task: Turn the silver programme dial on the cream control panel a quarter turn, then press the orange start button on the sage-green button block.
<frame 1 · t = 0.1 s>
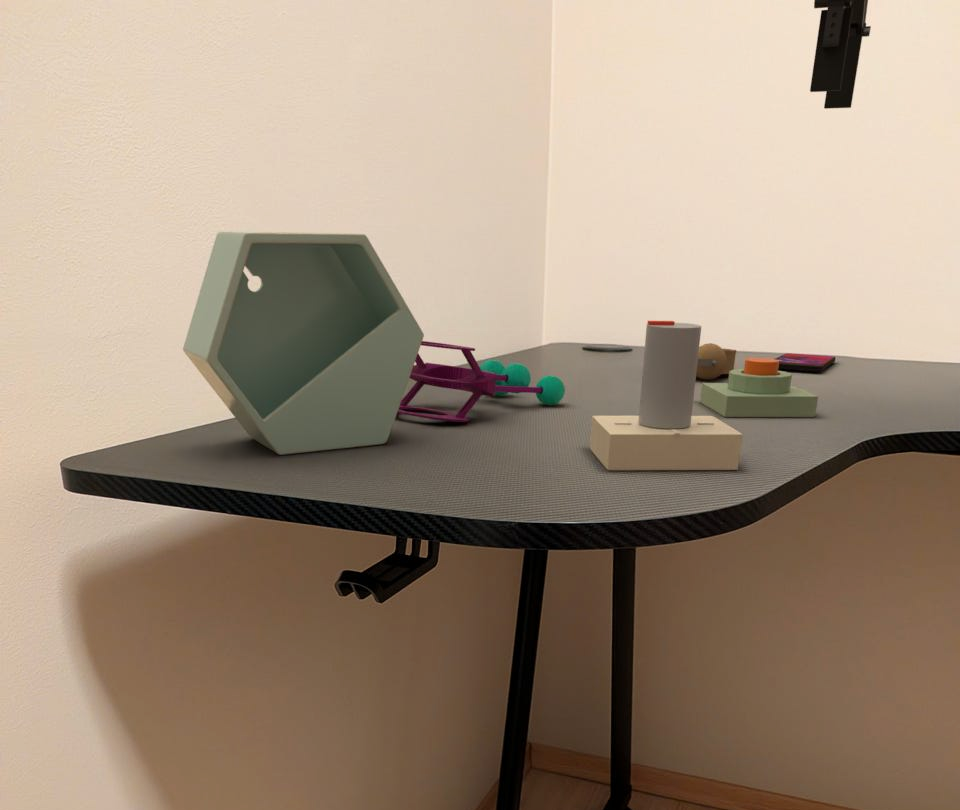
hand: (831, 100, 93), 30 cm above the table, tool pointing down, fingers open, 13 cm apart
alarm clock: (689, 376, 125), on the table
purple framed piece: (470, 410, 99), on the table
start button: (761, 368, 100), point 4 cm above the table, slide at 0.1 cm
planter: (311, 444, 83), on the table
button block: (755, 409, 102), on the table
smartphone: (801, 366, 136), on the table
programme dial: (669, 373, 76), point 7 cm above the table, hinge at 0.0°
dial panel: (660, 459, 79), on the table
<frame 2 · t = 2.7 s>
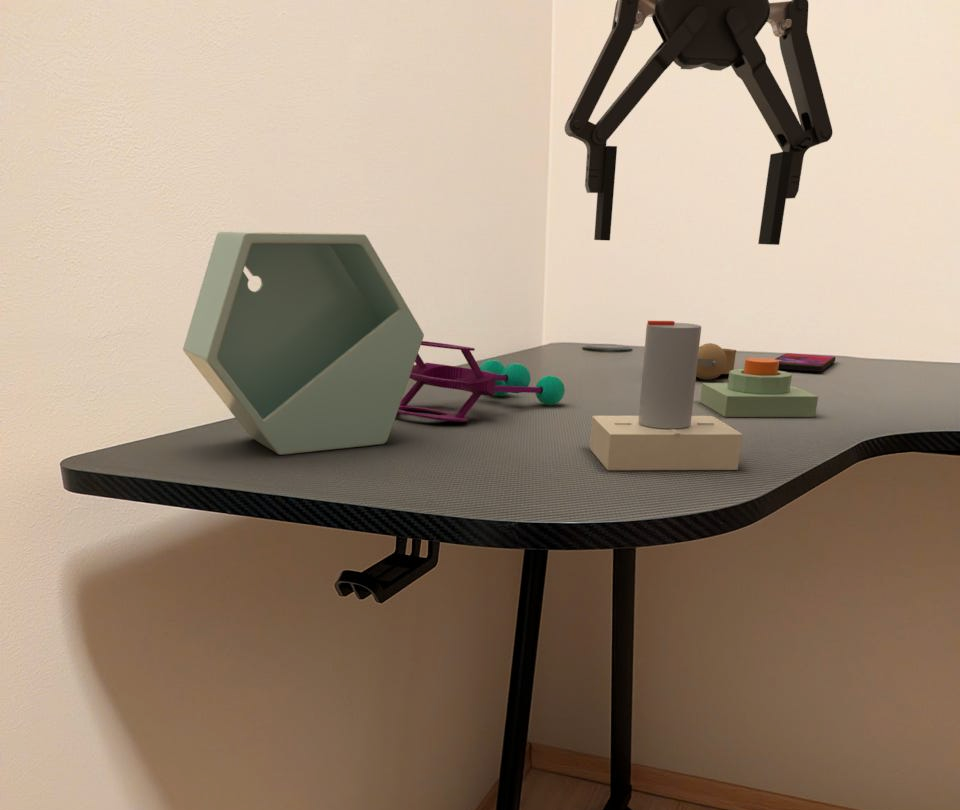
hand: (685, 243, 73), 17 cm above the table, tool pointing down, fingers open, 13 cm apart
nothing on the table moved.
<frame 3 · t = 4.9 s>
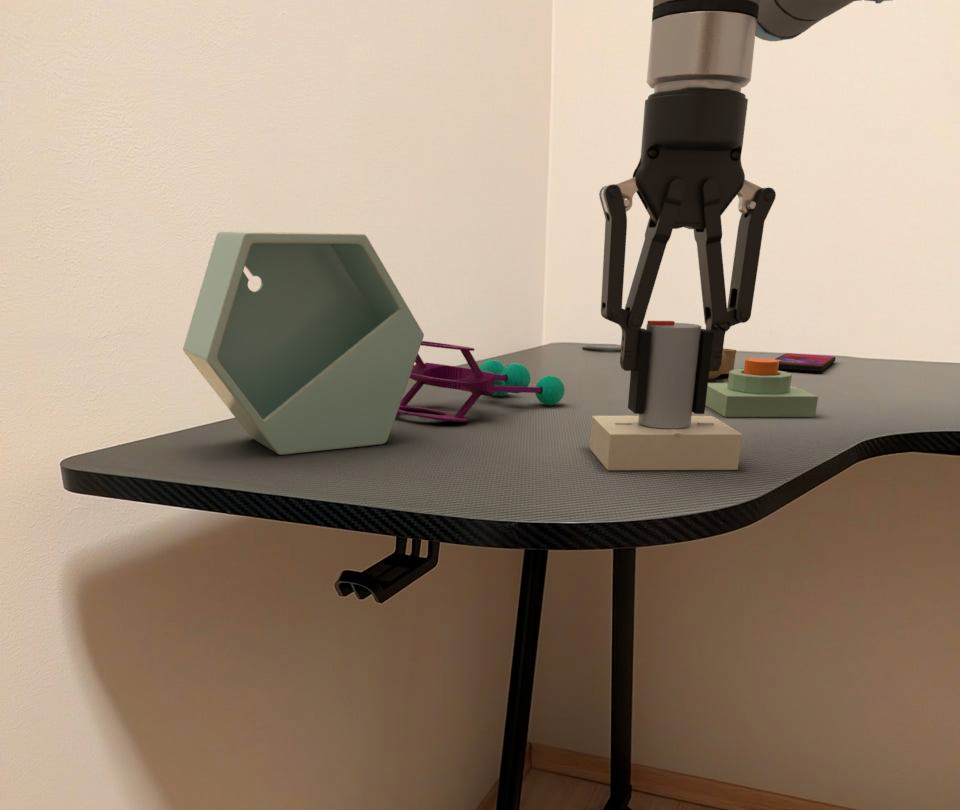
hand: (665, 410, 77), 4 cm above the table, tool pointing down, fingers closed on programme dial, 4 cm apart
programme dial: (669, 373, 76), point 7 cm above the table, hinge at 0.0°, touching gripper
everything else where it was.
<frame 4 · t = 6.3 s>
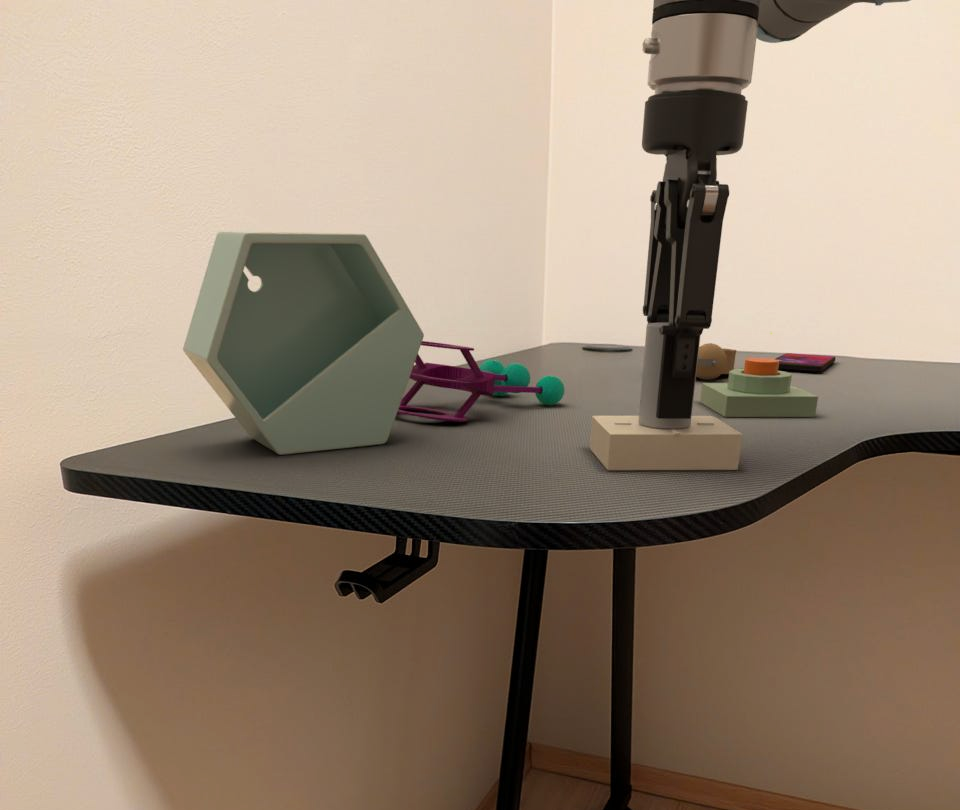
hand: (665, 411, 77), 4 cm above the table, tool pointing down, fingers open, 5 cm apart
programme dial: (669, 373, 76), point 7 cm above the table, hinge at 89.9°
everything else where it was.
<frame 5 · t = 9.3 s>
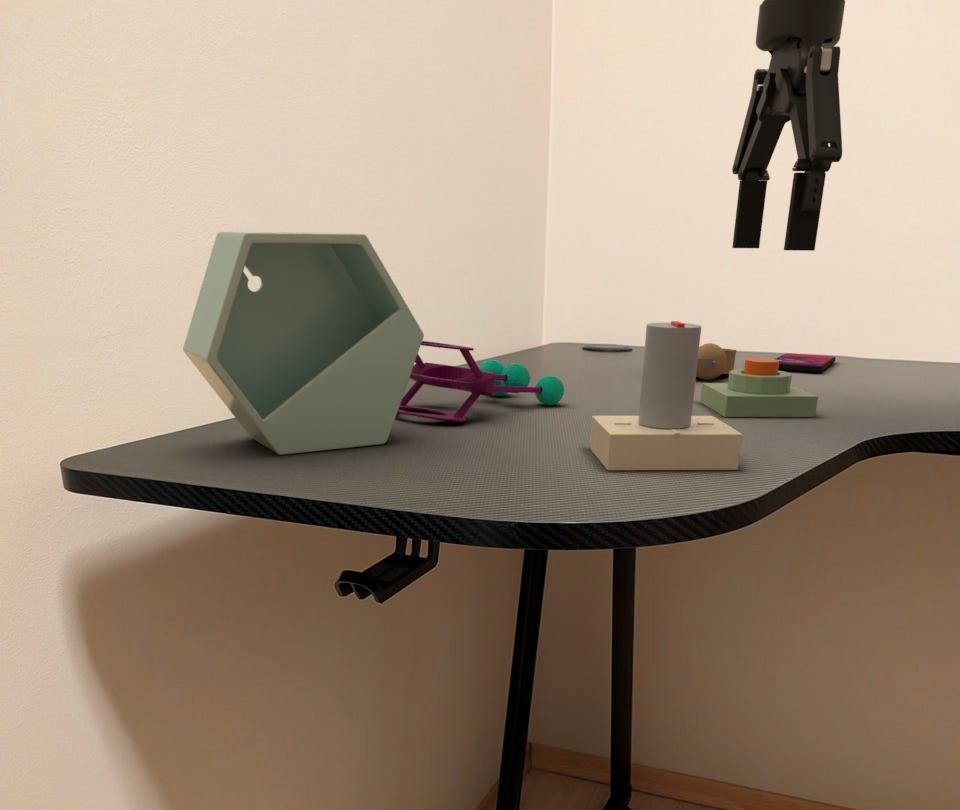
hand: (770, 249, 92), 17 cm above the table, tool pointing down, fingers open, 13 cm apart
nothing on the table moved.
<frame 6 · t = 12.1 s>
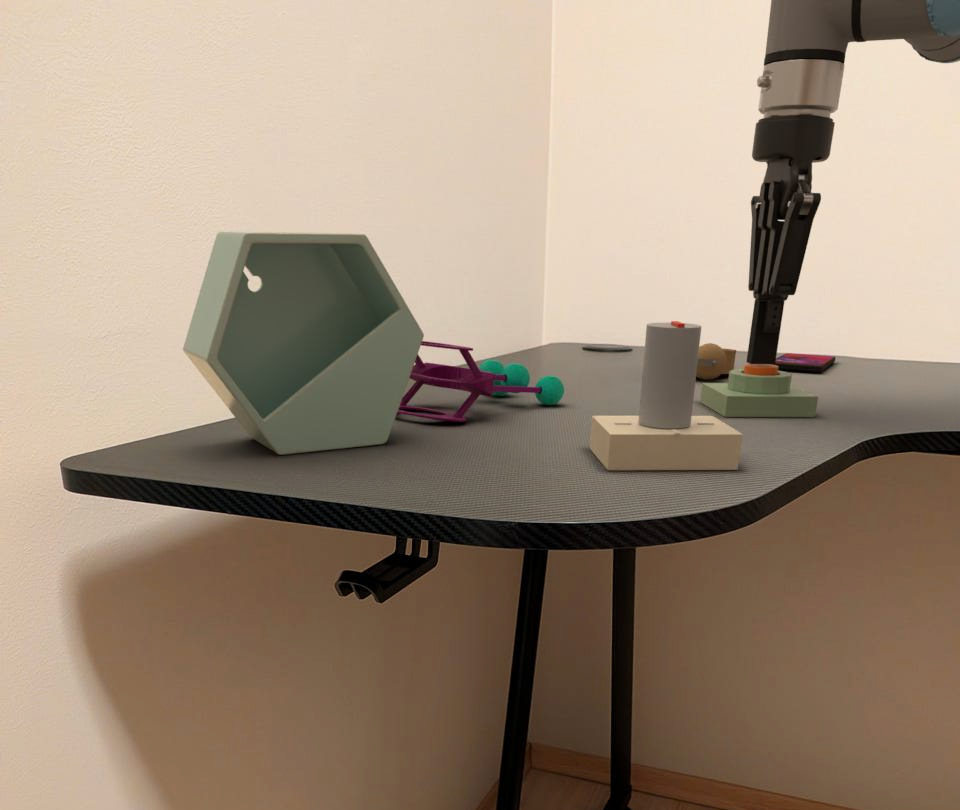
hand: (760, 363, 100), 5 cm above the table, tool pointing down, fingers closed
start button: (760, 373, 100), point 4 cm above the table, slide at -0.5 cm, touching gripper
everything else where it was.
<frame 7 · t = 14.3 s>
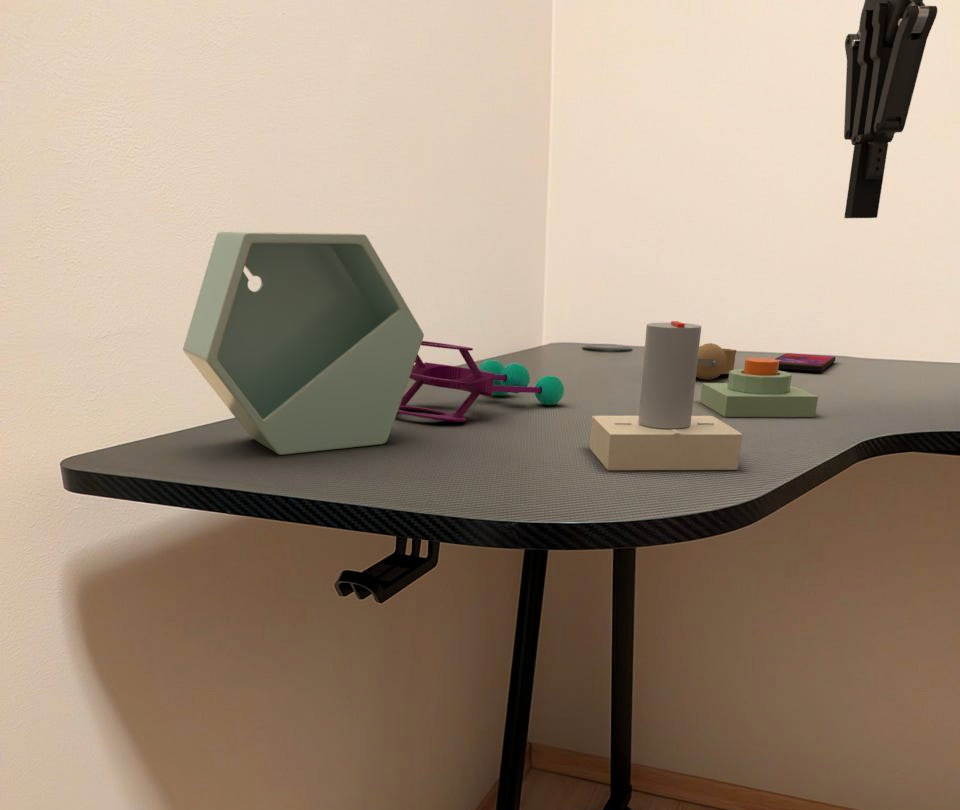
hand: (860, 217, 91), 20 cm above the table, tool pointing down, fingers closed
start button: (761, 368, 100), point 4 cm above the table, slide at 0.1 cm
everything else where it was.
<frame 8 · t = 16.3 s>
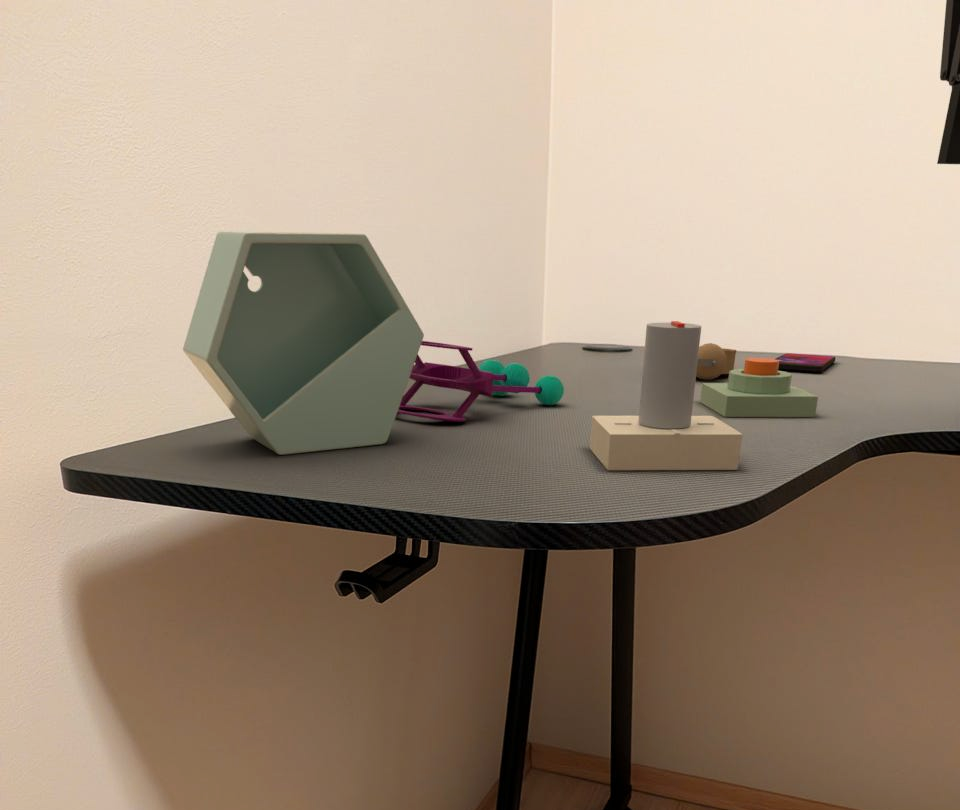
hand: (954, 163, 87), 24 cm above the table, tool pointing down, fingers closed
nothing on the table moved.
at the end: programme dial at +90° (first picture: +0°); start button pushed in 1.0 cm at the most during the clip, back to where it started at the end; start button slide at 0.1 cm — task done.
